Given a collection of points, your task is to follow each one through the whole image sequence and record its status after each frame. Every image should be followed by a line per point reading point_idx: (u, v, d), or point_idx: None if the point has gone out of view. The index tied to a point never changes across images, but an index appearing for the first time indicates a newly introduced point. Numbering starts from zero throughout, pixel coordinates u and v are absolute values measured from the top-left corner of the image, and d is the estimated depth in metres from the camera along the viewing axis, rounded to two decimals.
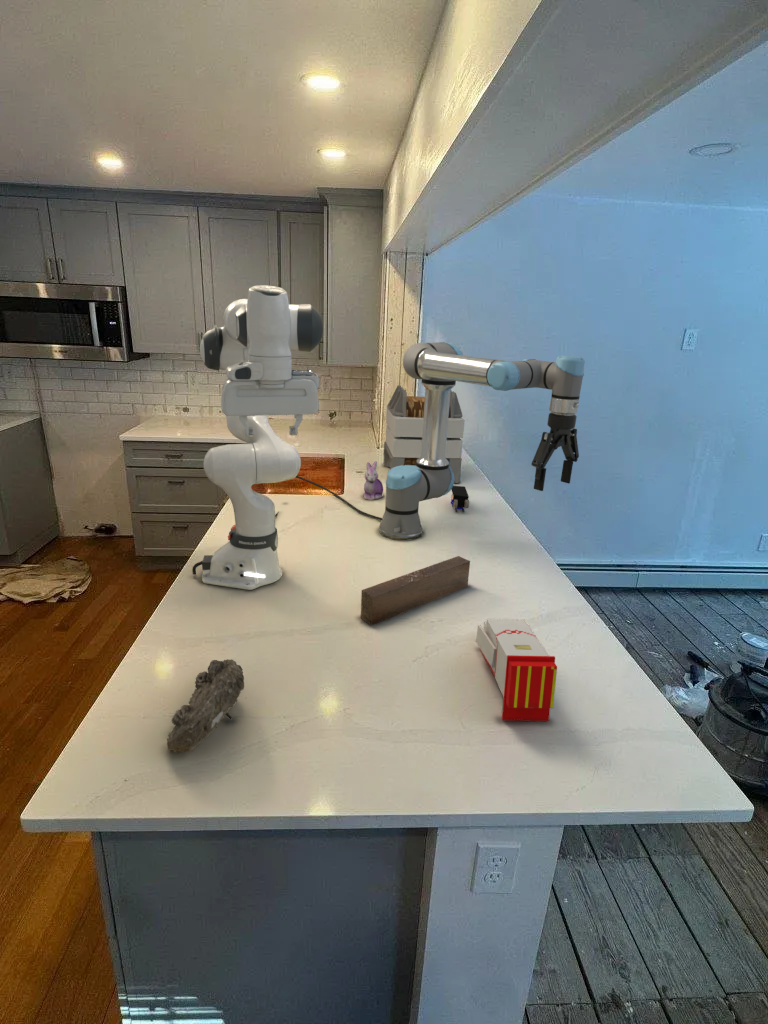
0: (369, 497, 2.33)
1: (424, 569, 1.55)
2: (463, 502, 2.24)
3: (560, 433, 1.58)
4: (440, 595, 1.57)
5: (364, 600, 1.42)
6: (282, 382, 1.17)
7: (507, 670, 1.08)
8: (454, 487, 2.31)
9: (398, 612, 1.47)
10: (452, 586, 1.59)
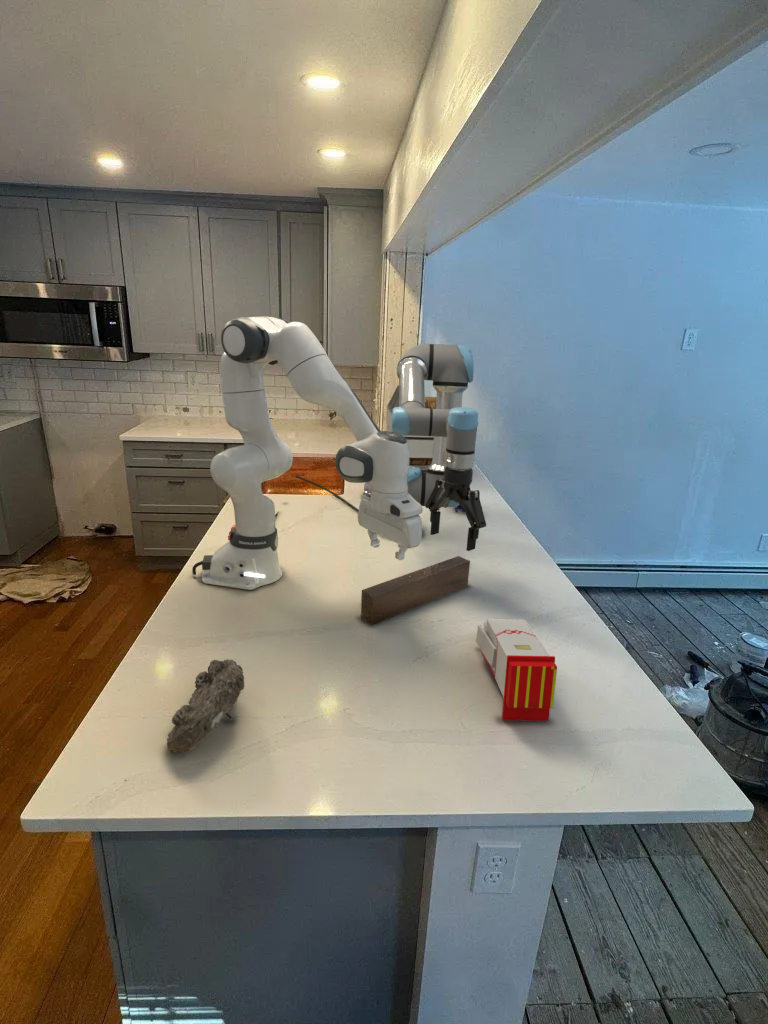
0: None
1: (424, 569, 1.55)
2: None
3: (450, 486, 1.52)
4: (440, 595, 1.57)
5: (364, 600, 1.42)
6: None
7: (507, 670, 1.08)
8: None
9: (398, 612, 1.47)
10: (452, 586, 1.59)
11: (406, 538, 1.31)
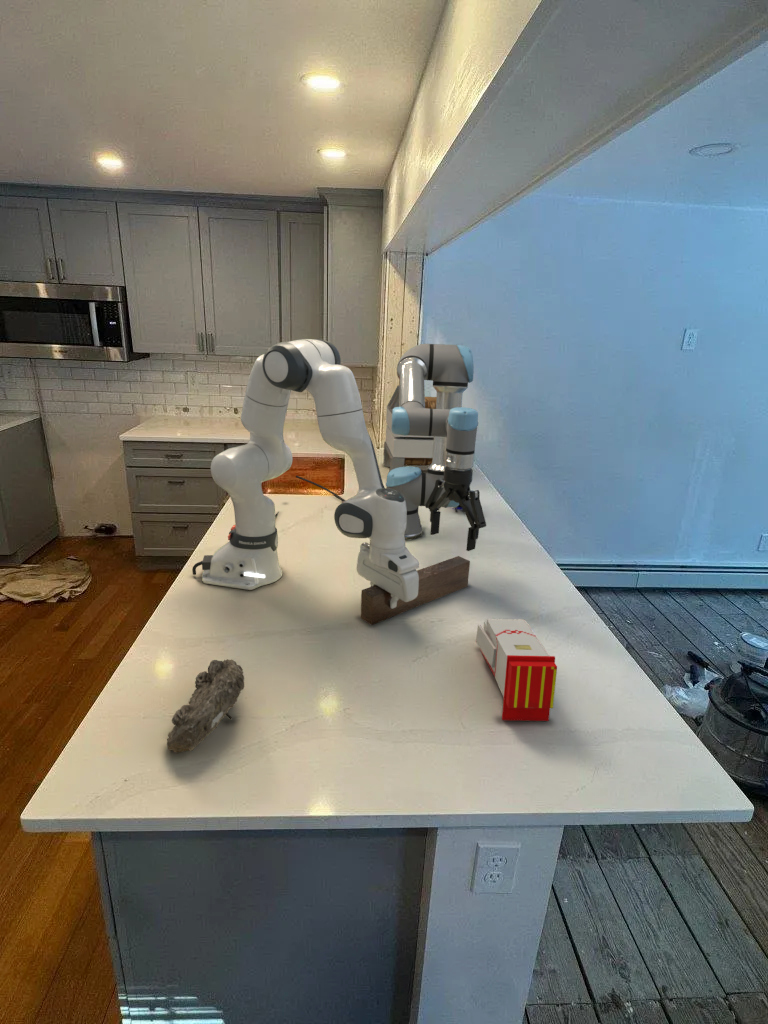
0: None
1: (424, 569, 1.55)
2: None
3: (450, 486, 1.52)
4: (440, 595, 1.57)
5: (364, 600, 1.42)
6: None
7: (507, 670, 1.08)
8: None
9: (398, 612, 1.47)
10: (452, 586, 1.59)
11: (403, 592, 1.36)
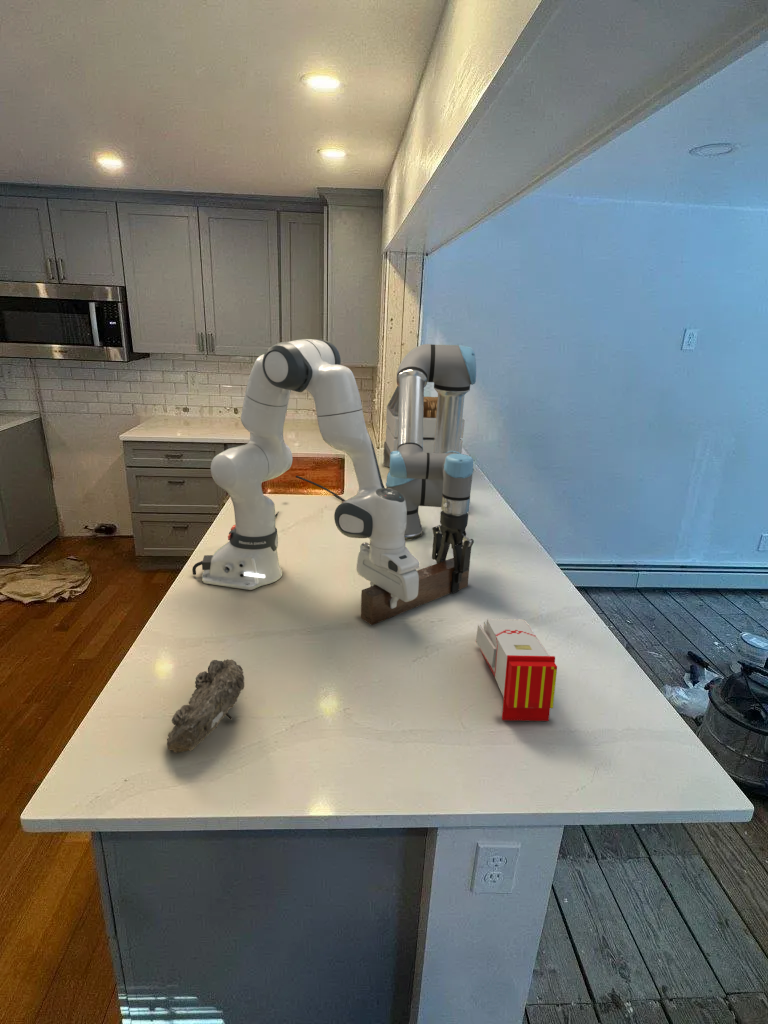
0: None
1: (424, 569, 1.55)
2: None
3: (446, 528, 1.56)
4: (440, 595, 1.57)
5: (364, 600, 1.42)
6: None
7: (507, 670, 1.08)
8: None
9: (398, 612, 1.47)
10: None
11: (403, 592, 1.36)
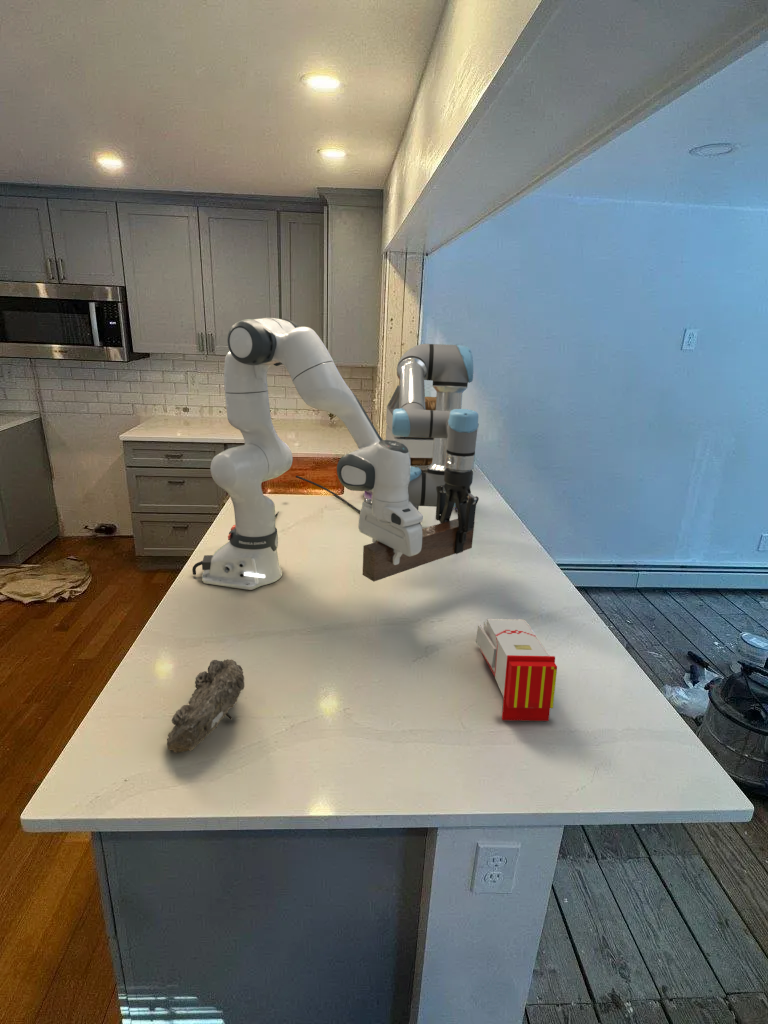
0: (369, 497, 2.33)
1: (427, 528, 1.52)
2: None
3: (450, 487, 1.53)
4: (444, 555, 1.53)
5: (366, 556, 1.39)
6: None
7: (507, 670, 1.08)
8: None
9: (401, 570, 1.44)
10: None
11: (406, 546, 1.33)
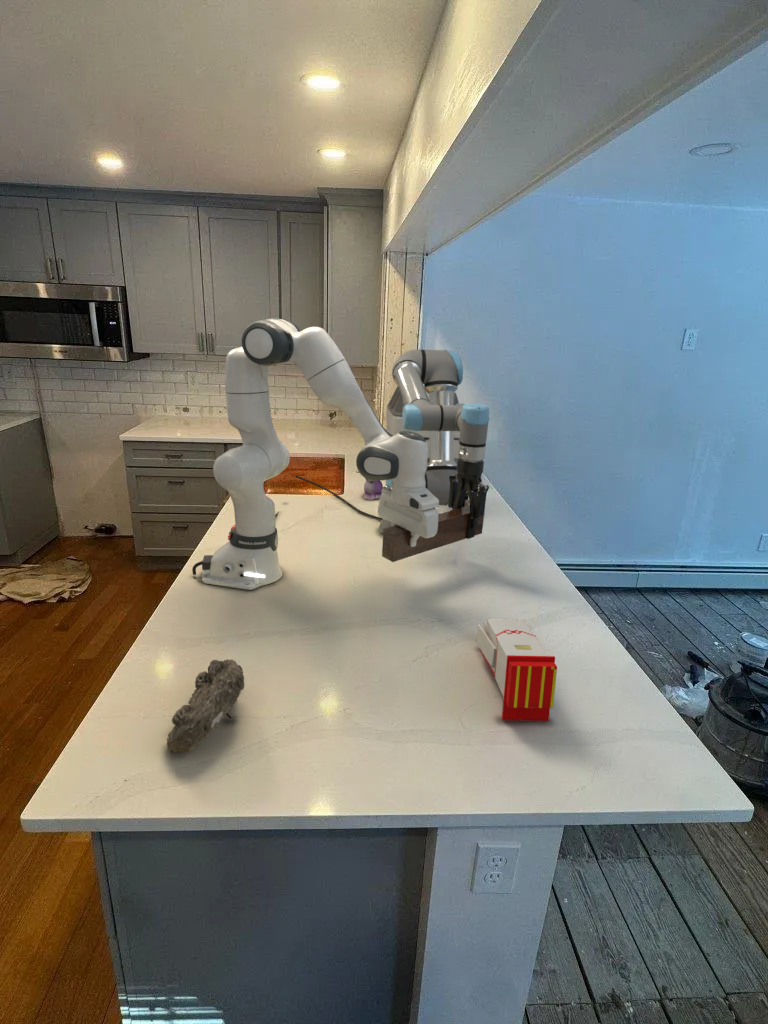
0: (369, 497, 2.33)
1: (441, 514, 1.62)
2: (463, 502, 2.24)
3: (462, 476, 1.64)
4: (456, 539, 1.64)
5: (385, 538, 1.50)
6: None
7: (507, 670, 1.08)
8: None
9: (417, 552, 1.55)
10: None
11: (424, 529, 1.43)
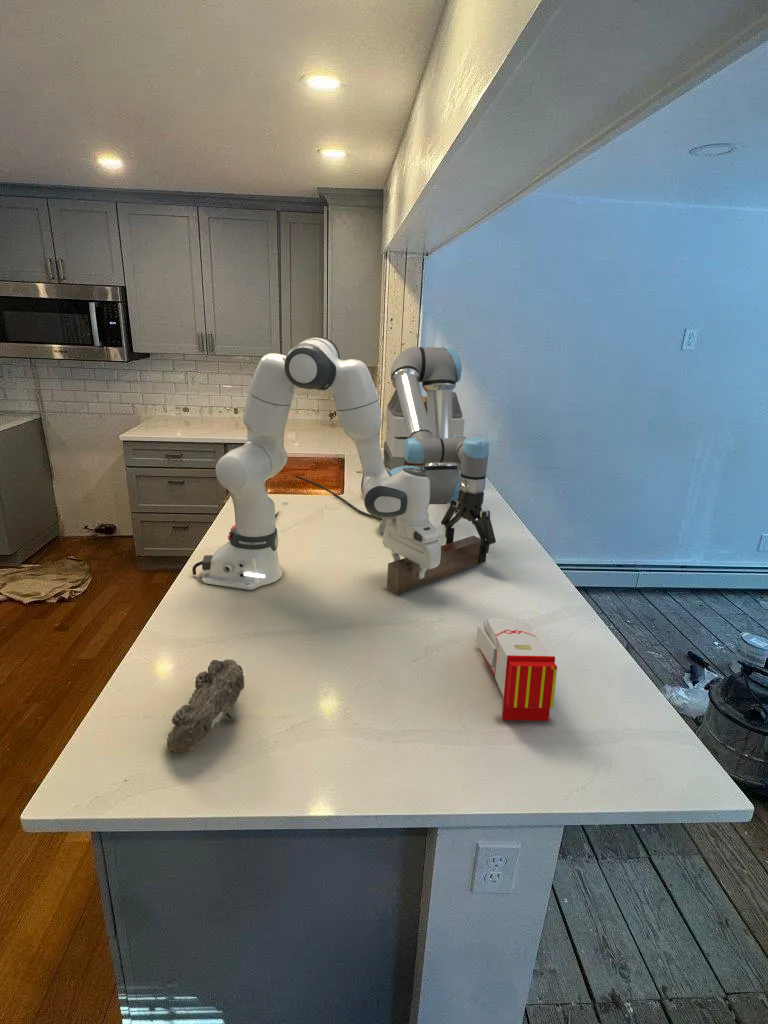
0: None
1: (443, 546, 1.70)
2: None
3: (463, 506, 1.71)
4: (457, 570, 1.72)
5: (390, 572, 1.58)
6: None
7: (507, 670, 1.08)
8: None
9: (420, 584, 1.63)
10: (468, 562, 1.75)
11: (427, 560, 1.51)
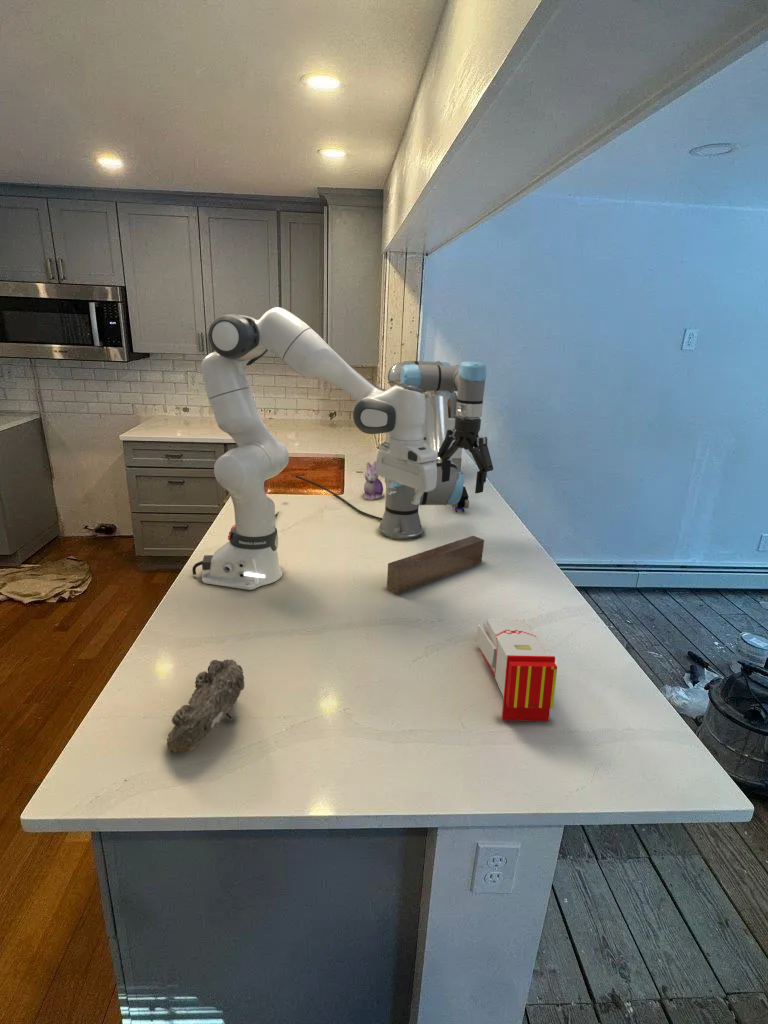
0: (369, 497, 2.33)
1: (443, 546, 1.70)
2: (463, 502, 2.24)
3: (460, 434, 1.67)
4: (457, 570, 1.72)
5: (390, 572, 1.58)
6: None
7: (507, 670, 1.08)
8: None
9: (420, 584, 1.63)
10: (468, 562, 1.75)
11: (422, 482, 1.41)
